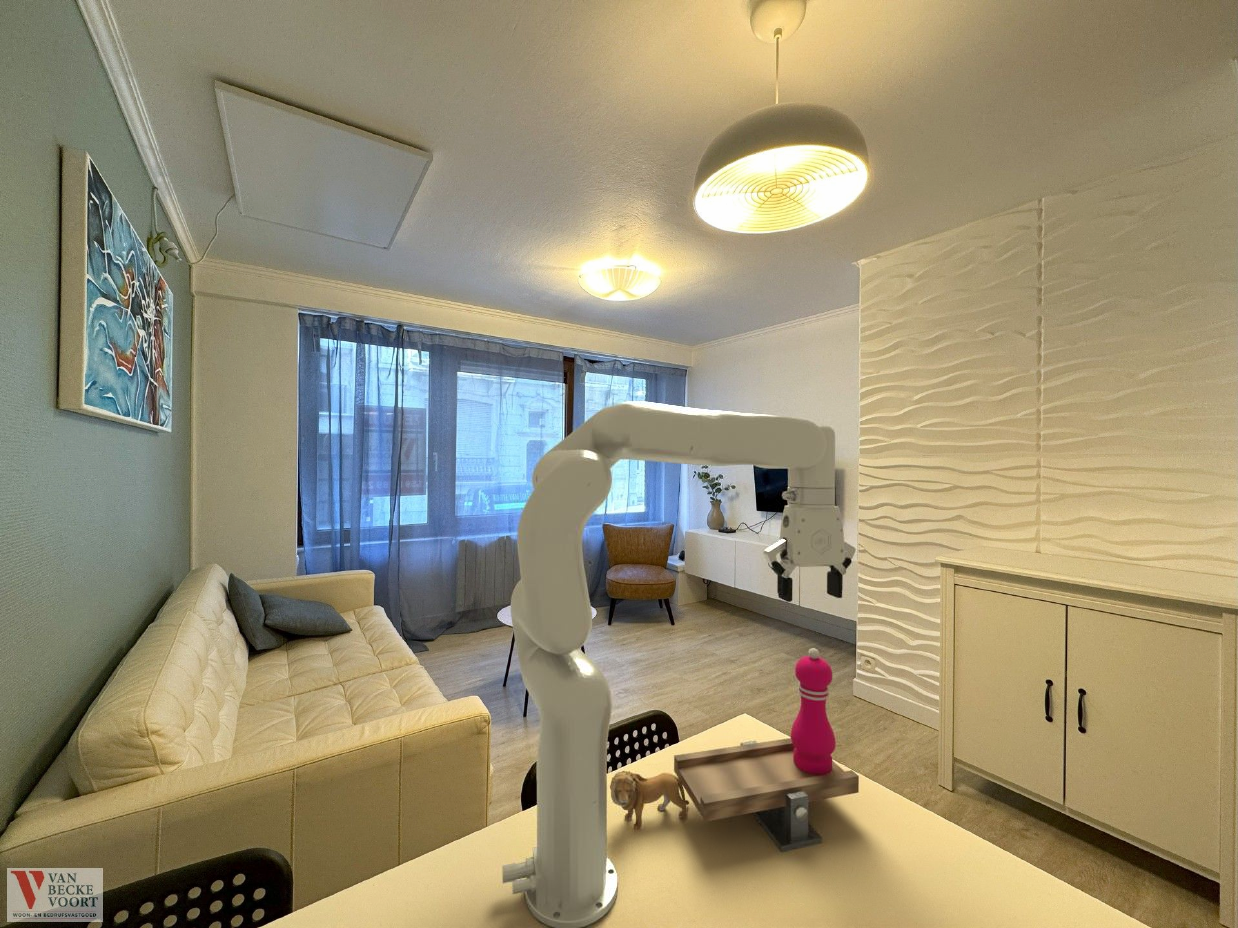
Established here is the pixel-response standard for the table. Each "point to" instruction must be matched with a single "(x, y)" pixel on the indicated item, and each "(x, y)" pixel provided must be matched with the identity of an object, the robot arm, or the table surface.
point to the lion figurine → (646, 793)
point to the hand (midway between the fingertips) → (810, 597)
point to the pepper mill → (813, 716)
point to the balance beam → (754, 779)
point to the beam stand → (789, 822)
